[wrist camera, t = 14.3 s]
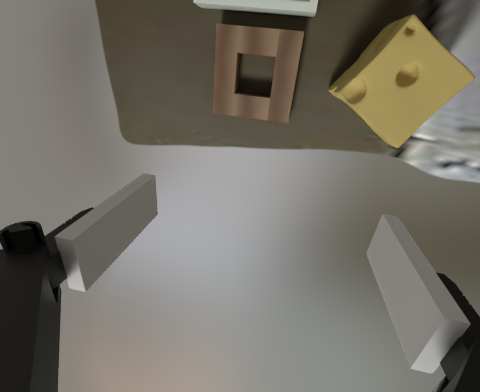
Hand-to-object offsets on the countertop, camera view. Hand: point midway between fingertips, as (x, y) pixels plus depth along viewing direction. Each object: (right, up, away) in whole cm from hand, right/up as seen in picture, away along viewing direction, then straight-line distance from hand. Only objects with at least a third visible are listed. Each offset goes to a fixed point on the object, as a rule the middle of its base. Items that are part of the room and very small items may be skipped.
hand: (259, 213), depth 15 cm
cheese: (+19, +18, +22) cm, 34 cm away
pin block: (+1, +20, +25) cm, 32 cm away
